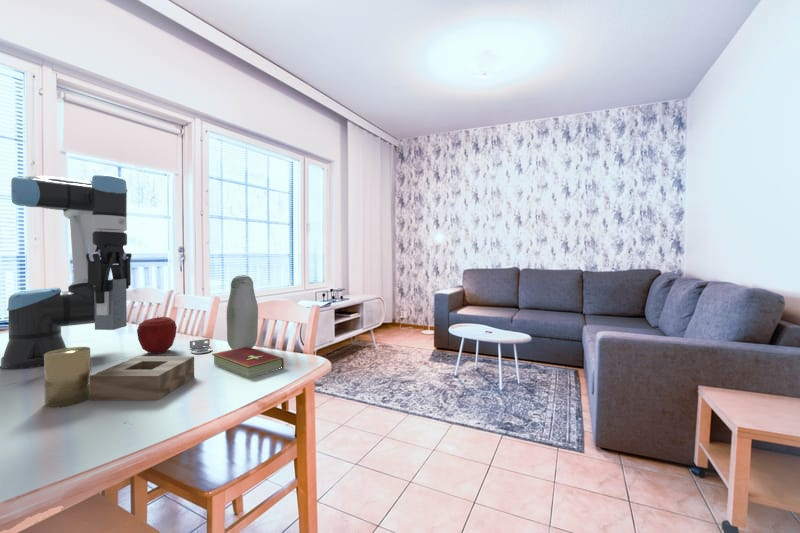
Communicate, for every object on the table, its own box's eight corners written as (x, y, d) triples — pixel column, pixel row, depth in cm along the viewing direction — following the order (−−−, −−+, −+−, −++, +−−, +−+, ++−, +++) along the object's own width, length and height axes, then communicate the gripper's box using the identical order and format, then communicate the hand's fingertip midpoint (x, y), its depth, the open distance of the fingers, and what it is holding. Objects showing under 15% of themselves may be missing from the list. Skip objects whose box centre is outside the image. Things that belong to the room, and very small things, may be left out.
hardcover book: (247, 357, 122) (247, 345, 122) (283, 369, 110) (283, 356, 109) (212, 365, 112) (212, 352, 112) (248, 380, 100) (248, 366, 100)
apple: (157, 347, 131) (156, 312, 131) (185, 348, 130) (184, 313, 129) (128, 356, 119) (127, 317, 119) (158, 358, 118) (158, 319, 117)
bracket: (192, 356, 121) (192, 346, 121) (189, 350, 130) (189, 340, 129) (213, 353, 125) (213, 344, 125) (209, 347, 133) (209, 338, 133)
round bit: (66, 393, 88) (65, 346, 87) (99, 393, 88) (98, 346, 87) (34, 407, 80) (33, 356, 79) (71, 407, 80) (70, 356, 80)
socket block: (137, 376, 100) (137, 356, 100) (194, 376, 101) (194, 356, 100) (90, 400, 84) (89, 375, 84) (158, 400, 85) (158, 375, 85)
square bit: (108, 325, 102) (108, 278, 101) (126, 326, 102) (126, 278, 101) (94, 329, 97) (94, 279, 96) (113, 329, 97) (112, 280, 96)
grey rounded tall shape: (235, 347, 133) (235, 274, 132) (261, 347, 133) (262, 274, 132) (221, 354, 123) (221, 275, 122) (249, 355, 123) (250, 276, 122)
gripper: (97, 229, 89) (98, 319, 90) (145, 233, 107) (146, 308, 108) (67, 229, 89) (68, 319, 90) (120, 232, 107) (121, 307, 108)
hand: (110, 312), depth 99 cm, fingers closed on square bit, 5 cm apart
